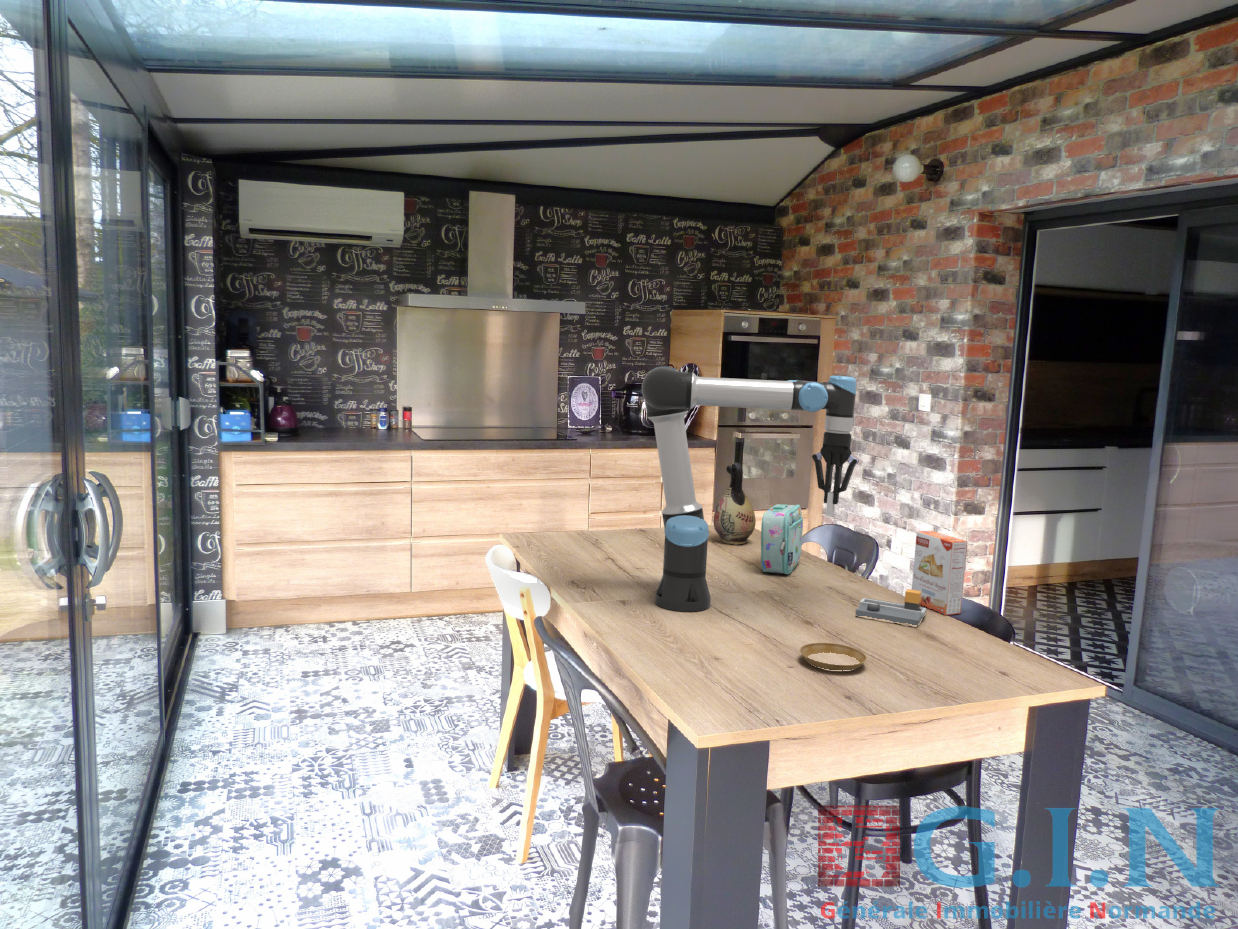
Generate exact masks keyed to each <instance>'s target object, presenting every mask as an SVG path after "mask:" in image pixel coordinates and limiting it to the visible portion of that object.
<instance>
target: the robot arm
mask: <svg viewBox="0 0 1238 929" xmlns="http://www.w3.org/2000/svg"><path fill="white" fill-rule="evenodd" d="M641 394H642V398H643V399H644V403H645V410H646V416H647V419H648V420H650V421H651V422H652V423H653V426H654V427H653V428H654V434H655V440H656V446H657V453H658V460H659V466H660V473H661V479H662V485H663V492H664V499H665V500H664V501H665V506H664V508H663V509H662V511H661V516H662V521H663V528H664V547H663V564H662V565H663V568H662V575H661V576H662V577H661V579H660V581H659V585H658V587H657V589H656V591H655V594H654V596H655V597H654V603H655V604H656V605H657V606H659V608H663V609H666V610H669V611H670V610H671V611H676V612H698V611H699V612H701V611H705V610H707V609H710V607H711V603H712V602H711V600H712V599H711V593H710V590H709V586H708V581H707V578H706V576H707V574H706V573H707V561H708V560H707V559H708V540H709V539H708V538H709V535H710V531H709V524H708V522H707V521H706V520H705V517H704V511H703V505H702V504H700V503H699V502H698V501H697V499H696V497H697V496H696V493H695V484H694V478H693V471H692V465H691V458H690V451H689V445H688V438H687V431H686V430H687V429H686V424H685V417H686V416H687V414H688V412H689V410H690V409H691V410H692V409H694V407H696V406H703V407H704V406H705V407H706V406H709V407H726V408H727V407H729V408H745V409H746V408H749V409H750V408H751V409H768V410H769V409H770V410H786V411H787V410H788V411H789V410H791V411H804V412H805V411H807V412H809V413H815V412H818V411H821V410H825V418H824V419H825V420H824V427H823V428H824V430H825V431H824V433H823V438H822V440H823V441H822V447H821V448H820V451H819V452H817V453H814V454H812V455H811V458H812V460H813V461H814V465H815V472H816V479H817V480H816V481H817V488H818V489H819V490H820V489H821V490H823V503H824V504H826V508H825V516H827V517H832V516H834V514H835V505H838V504H839V501H840V500H839V499H840V494H841V493H843V492H846V491H847V489H848V488H849V484H850V481H851V478H852V475H853V472H854V469H855V468H856V466H857V464H859V463H860V462H859V461H860V460H859V459H858V458H856V457H854V456H853V455H852V454H853V453H852V451H851V445H852V444H851V443H852V433H851V432H853V424H854V415H855V414H854V413H855V404H856V398H857V397H856V396H857V380H856V378H855V377H853V376H844V375H842V376H841V375H830V376H829V379H828V380H827V381H823V382H822V381H821V382H820V381H813V380H812V381H811V380H809V381H808V380H800V379H795V380H793V379H792V380H791V379H789V380H773V379H772V380H771V379H768V380H767V379H751V378H750V379H749V378H748V379H747V378H729V377H712V376H711V377H709V376H708V377H706V376H697V375H696V374H695V373H694V372H686V371H679V370H677V369H676V368H674V367H671V366H667V365H665V366H658V367H655V368H653V369H651V370H650V371H649V372H648V373H646V374H645V376H644V378H643V381H642V383H641ZM822 459H824V461H825V465H826V466H825V476H824V470H823V464H822ZM847 461H848V465H847V468H846V472H845V474H844V476H843V480H842V474H843V468H844V465H845V463H846V462H847ZM834 469H835V470H834ZM833 471H834V472H833ZM833 474H834V481H833ZM824 477H825V478H824ZM832 482H834V483H833V490H832ZM704 609H705V610H704Z"/></svg>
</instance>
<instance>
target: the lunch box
mask: <svg viewBox="0 0 1238 929" xmlns="http://www.w3.org/2000/svg"><path fill="white" fill-rule="evenodd" d="M760 527H761V529H760V530H761V531H760V567H761V570H762V573H763V572H764V573H771V574H782V575H790V574H791V573H792V572H793V571H794V569H795V568H796V567H797V565H798V563H799V561H800V558H801V554H802V542H803V529H804V518H803V515H802V508H801V505H800V504H777V503H776V504H775V505H773V506H772V507H770V508H768V509H766V511H765V512H764V514H763V515H762V519H761V526H760Z"/></svg>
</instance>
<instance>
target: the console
mask: <svg viewBox="0 0 1238 929" xmlns="http://www.w3.org/2000/svg"><path fill="white" fill-rule="evenodd" d="M858 605H859V606H858V607H857V608H856V609H855V615H857V616H867V617H872V618H877V619H885V620H890V621H893V622H899V623H908V624H912V625H917V626H918V624H919V623H920V621H921V619H922V618H923V616H924V615H925V613H926V614H927V609H928V608H926V607H924V606H920V610H919V611H915V610H909V609H904V605H905V603H900V602H899V603H898V602H894V601H889V600H888V601H887V600H880V599H876V598H875V599H874V598H870V597H869V598H867V597H866V598H865V597H863V598H862V599H860V600H859V604H858ZM920 624H921V623H920ZM918 627H919V626H918Z"/></svg>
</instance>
